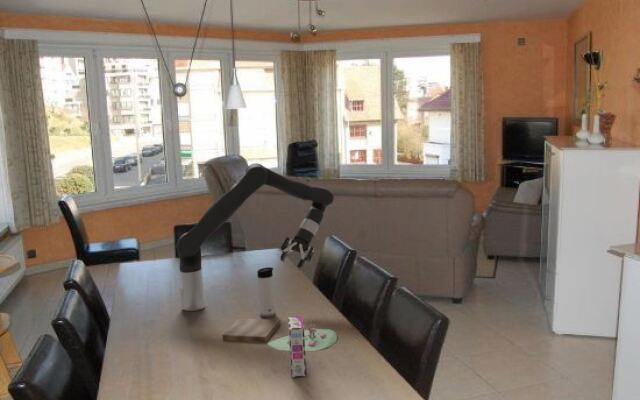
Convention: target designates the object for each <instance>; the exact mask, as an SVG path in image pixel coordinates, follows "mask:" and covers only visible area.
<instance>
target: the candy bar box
mask: <svg viewBox="0 0 640 400" xmlns="http://www.w3.org/2000/svg"><path fill="white" fill-rule="evenodd" d="M287 320H288V321H287V324H288V335H289V346H290V350H289V357H290V371H291V378H295V379H296V378H305V377H307V361H306V360H307V359H306V358H307V357H306V351H305V337H304V330H305V326H304V321H303V320H304V319H303V316H301V315H300V316H293V317H292V316H291V317H287Z"/></svg>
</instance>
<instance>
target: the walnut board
mask: <svg viewBox="0 0 640 400" xmlns="http://www.w3.org/2000/svg"><path fill="white" fill-rule="evenodd" d="M280 325H281V320H280V319H264V318H261V319H260V318H239V319H237V320H236V321H235V322H234V323H233V324H232V325H231V326H230V327H229V328H228V329H227V330H226V331H225V332H224V333H223V334H222V341H238V342H253V343H257V342H258V343H267V342H268V340H269V339H270V338H271V337H272V335H273V334H274V333H275V332H276V330H277V329H279V327H280Z"/></svg>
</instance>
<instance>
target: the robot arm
mask: <svg viewBox="0 0 640 400" xmlns="http://www.w3.org/2000/svg"><path fill="white" fill-rule="evenodd" d="M244 174H245V175H244V176H243V177H242V178H241V179H240V180H239V182H237V184H236V185H235V186H233V188H231V189H230V190H228V191H226V192H225V193H223V194H222V195H221V196H220V197H219V198H217V199H216V200H215V201H214V202H213V203H212V205H210V207H209V208H208V209H207V210H206V211H205V212H204V214H203V216H202V217H201V218H200V219H199V221H198V222H197V224H195V225H194V226H193V228H191V229H190V230H189V231H187V232H185V233H183V234H181V235H180V236H179V239H177V241H176V251H177V254H179V275H180V283H181V284H180V285H181V287H180V288H179V291H180V292H179V293H180V294H179V295H180V303H181V304H180V305H181V310H183V311H187V312H195V311H200V310H203V309H204V308H205V307H206V301H205V291H204V290H205V289H204V280H203V279H204V278H203V268H202V267H203V266H202V249H201V248H202V247H201V246H202V245H203V244H204V243H205V241H206V240H207V239H208V238H209V237H211V235H212V234H213V233H215V232H216V231H217V230H218V229H220V228H221V227H222V226H223V225H224V224H225V223H226V222H227V221H229V219H230V218H231V217H232V216H233V215H234V214H235V213H236V212H237V211H238V210H239V209H240V207H241V206H243V204H244V203H245V202H246V200H247V199H249V198H250V197H251V196H252V195H253V194H254V193H255V192H256V191H258V190H259V189H260V188H262V187H263V186H264V185H265V186H269V187H272V188H275V189H277V190H279V191H281V192H283V193H285V194H287V195H288V196H292V197H294V198H296V199H300V200H303V201H311V204H310V206H309V207H310V208H309V210H308V212H307V213H306V215H305V217H304V219H303V220H302V221H301V223H300V225H299V227H298V230H297V231H296V233H295V235H294V238H292V239H291V238H290V237H289V236H287V237H285V240H284V242H283V243H282V244H281V246H280V250H282V253H281V256H280V257H279V259H280V261H281V262H285V260H286V258H287V256H288V254H289V253H291V252H293V251H294V252H295V253H298V254H300V256H301V258H300V260H299V262H298V264H297V266H296V267H297V269H299V270H300V269H301V268H303V266H304V264H305V262H311V260H312V258H313V256H314V253H315V251H316V249H315V248H314V247H313V246H310V245H311V244H312V242H313V240H314V238H315V235H317V232H318V229H319V226H320V224H321V223H322V221H323V218H324V212H325V211H326V208H327V207H328V206H330V205H331V204H333V202H334V197H335V196H334V194H333V192H331V190H330V189H326V188H323V187H317V186H313V185H311V184H307V183H305V182H303V181H299V180H296V179H293V178H290V177H287V176H285V175H282V174H280V173H277V172H275V171H272V170H271V169H269V168H267V167H266V166H264V165H262V164H261V163H257V162H256V163H255V162H254V163H251V164H249V165H248V166H247V167H246V169H245V173H244ZM289 244H290V245H289ZM306 251H308V253H307V254H306Z"/></svg>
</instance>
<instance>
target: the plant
mask: <svg viewBox="0 0 640 400" xmlns="http://www.w3.org/2000/svg"><path fill="white" fill-rule="evenodd" d="M312 318H313V316H311V320H310V321H309V323H307V324H306V327H305V326H304V337H305V352H314V351H321V350H325V349H326V350H327V349H328V348H331V347H332V346H333V345H334V344H336V342H337V341H338V335H337V333H336V332H335V331H334V330H332V329H327V328H325V329H324V328H316V327H317V326H316V321H317V318H315V319H312ZM313 323H314V324H313ZM312 324H313V325H312ZM267 345H268V346H269V347H270V348H272V349H275V350H278V351H290V346H289V334H288V335H285V336H283V337H280V338H278V339H274V340H271V341H269V342H267Z"/></svg>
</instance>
